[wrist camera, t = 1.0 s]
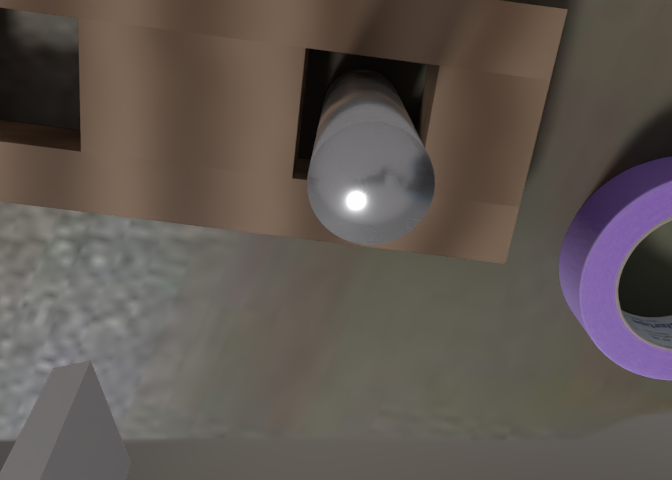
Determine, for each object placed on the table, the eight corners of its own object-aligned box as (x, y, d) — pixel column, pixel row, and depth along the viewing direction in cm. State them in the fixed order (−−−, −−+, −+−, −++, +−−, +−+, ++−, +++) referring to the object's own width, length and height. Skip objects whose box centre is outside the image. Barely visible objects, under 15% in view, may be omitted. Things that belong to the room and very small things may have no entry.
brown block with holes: (541, 7, 31) (567, 9, 27) (489, 235, 35) (505, 263, 32) (-123, -83, 30) (-190, -94, 26) (-93, 162, 34) (-147, 183, 31)
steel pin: (406, 74, 32) (446, 130, 19) (393, 151, 34) (422, 251, 21) (327, 64, 32) (314, 113, 19) (319, 141, 34) (300, 236, 20)
